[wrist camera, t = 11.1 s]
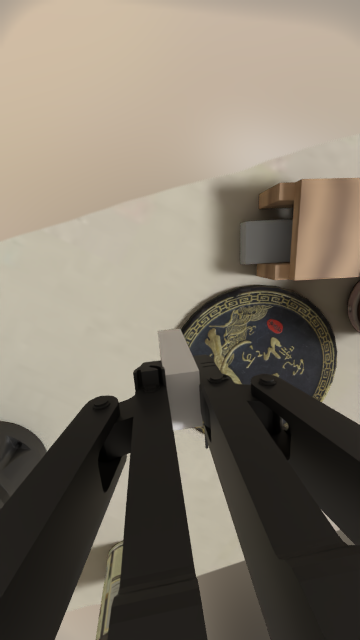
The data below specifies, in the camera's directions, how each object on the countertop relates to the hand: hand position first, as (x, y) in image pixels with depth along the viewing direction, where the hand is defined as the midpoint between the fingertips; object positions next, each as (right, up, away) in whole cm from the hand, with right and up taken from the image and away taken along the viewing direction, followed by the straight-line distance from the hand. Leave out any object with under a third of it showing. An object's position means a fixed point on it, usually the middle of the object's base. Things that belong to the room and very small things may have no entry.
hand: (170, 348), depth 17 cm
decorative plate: (+13, -7, +29) cm, 32 cm away
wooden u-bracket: (+18, +15, +23) cm, 32 cm away
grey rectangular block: (+15, +14, +23) cm, 31 cm away
